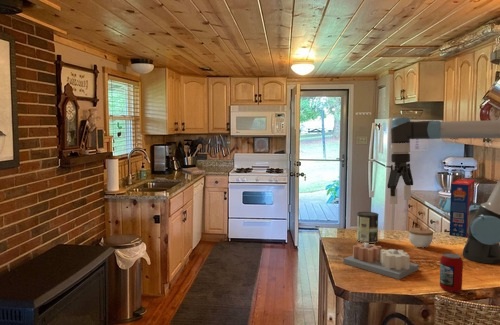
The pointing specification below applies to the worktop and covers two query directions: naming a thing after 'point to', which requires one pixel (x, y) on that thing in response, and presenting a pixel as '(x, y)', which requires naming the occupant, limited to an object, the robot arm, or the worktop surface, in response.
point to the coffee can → (367, 227)
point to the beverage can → (451, 272)
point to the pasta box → (461, 206)
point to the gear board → (379, 268)
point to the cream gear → (394, 259)
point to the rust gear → (366, 252)
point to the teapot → (445, 205)
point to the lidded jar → (420, 237)
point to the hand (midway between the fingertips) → (400, 201)
